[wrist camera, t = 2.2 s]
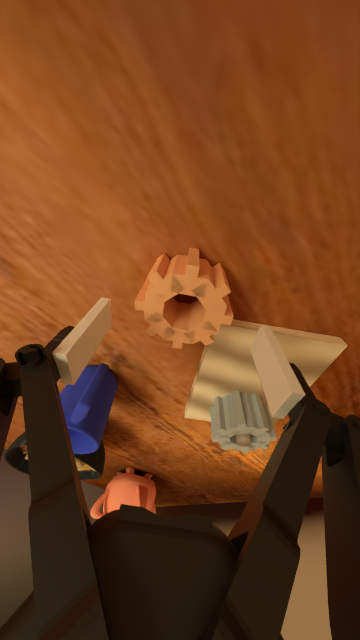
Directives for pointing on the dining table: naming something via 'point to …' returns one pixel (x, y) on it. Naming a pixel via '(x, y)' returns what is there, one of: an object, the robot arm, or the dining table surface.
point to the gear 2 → (241, 421)
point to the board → (253, 365)
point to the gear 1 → (185, 318)
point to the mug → (88, 407)
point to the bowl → (86, 463)
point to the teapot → (127, 493)
